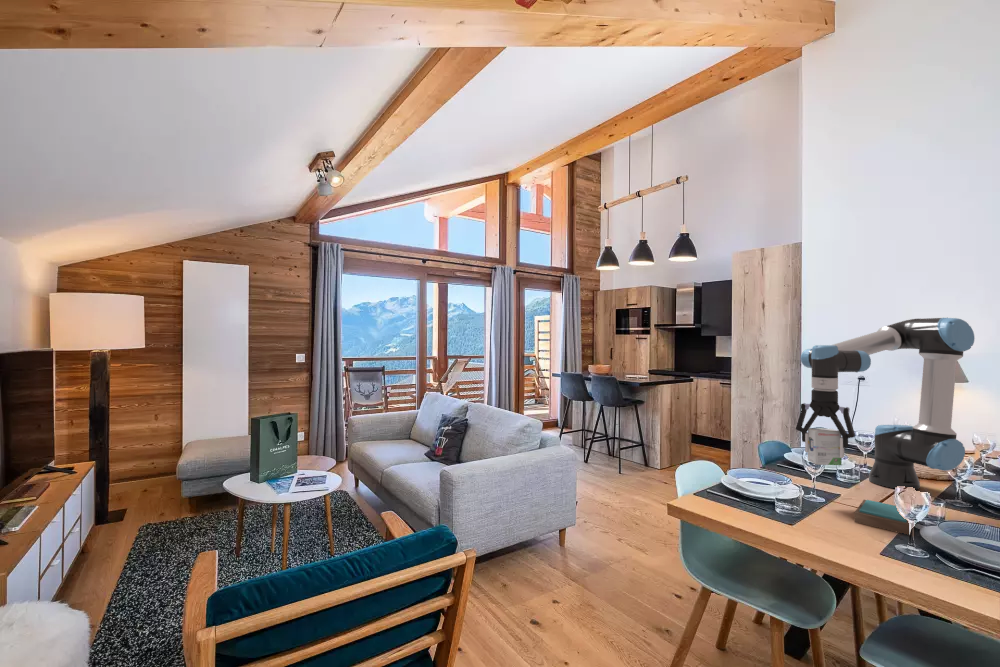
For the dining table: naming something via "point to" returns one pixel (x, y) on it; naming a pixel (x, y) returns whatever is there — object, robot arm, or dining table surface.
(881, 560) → the dining table surface
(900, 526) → the walnut tray
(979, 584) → the dining table surface
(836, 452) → the ink box
